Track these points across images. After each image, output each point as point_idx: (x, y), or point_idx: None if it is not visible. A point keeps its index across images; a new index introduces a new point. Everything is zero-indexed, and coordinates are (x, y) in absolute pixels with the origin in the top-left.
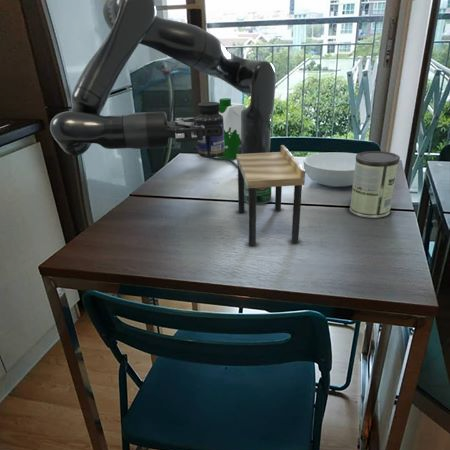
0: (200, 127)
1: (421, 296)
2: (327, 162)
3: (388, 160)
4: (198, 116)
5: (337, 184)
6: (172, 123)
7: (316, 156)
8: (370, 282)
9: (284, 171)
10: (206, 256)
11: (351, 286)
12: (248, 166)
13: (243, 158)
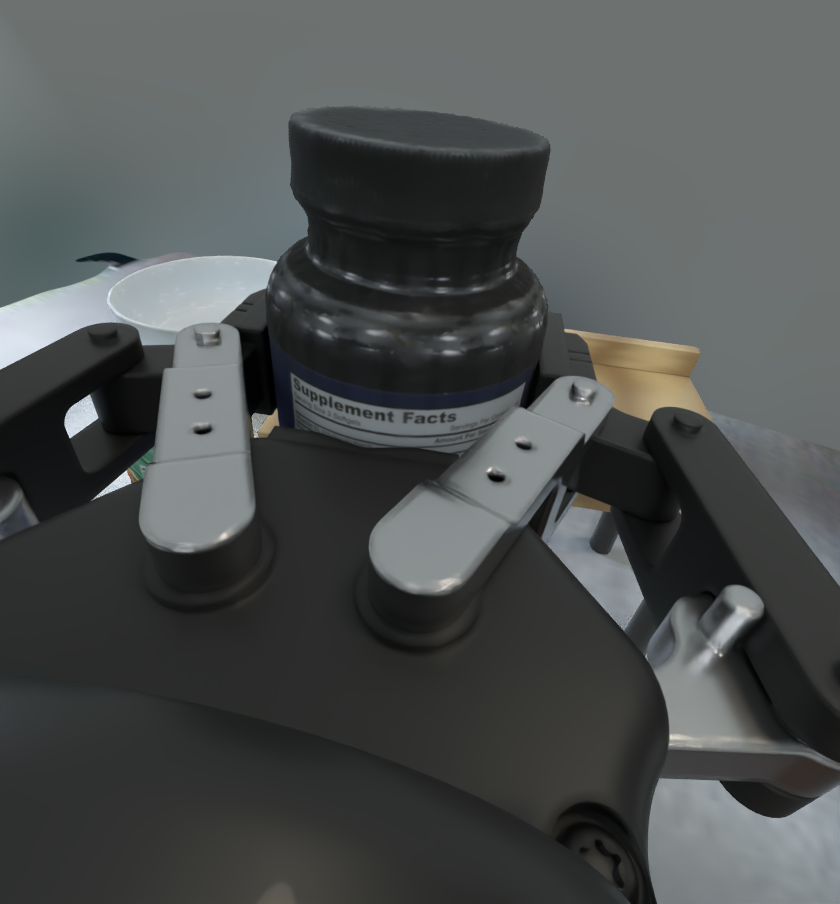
0: (693, 416)
1: (834, 456)
2: (139, 305)
3: None
4: (422, 314)
5: None
6: (194, 664)
7: (116, 300)
8: (804, 495)
9: (605, 385)
10: (749, 899)
11: (836, 530)
12: None
13: None
